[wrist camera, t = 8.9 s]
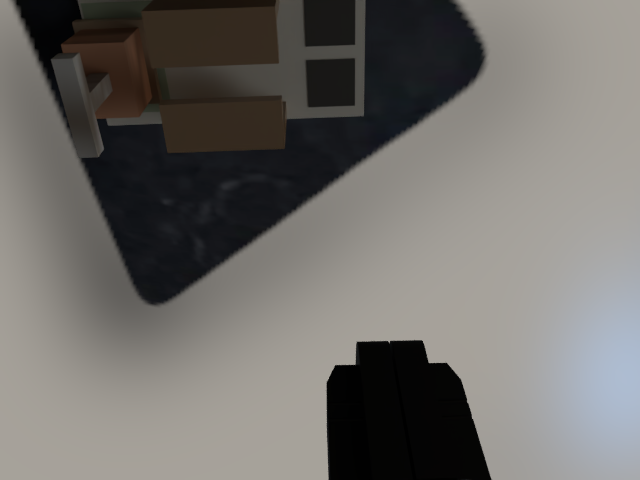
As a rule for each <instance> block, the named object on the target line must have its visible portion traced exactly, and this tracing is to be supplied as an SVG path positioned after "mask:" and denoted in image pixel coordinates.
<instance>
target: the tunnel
mask: <svg viewBox="0 0 640 480" xmlns="http://www.w3.org/2000/svg"><path fill="white" fill-rule="evenodd" d="M78 4H79V8H80V13H81V17H82V19H105V18H133V17H142V19H143V25H144V30H145V35H146V41H147V46H148V51H149V56H150V62H151V67H152V68H157V74H158V79H159V84H160V90H161V95H162V100H161V102H160V104H148V105H147V106H146V108H145V109H144V111H143V113H142V114H141V116H140V117H131V118H106V119H107V123H108V126H110V125H137V124H162V125H163V130H164V136H165V141H166V146H167V152H168V153H181V152H208V151H234V150H260V149H285V136H286V120H287V119H297V118H323V117H350V116H364V58H365V0H78Z"/></svg>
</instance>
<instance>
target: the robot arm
mask: <svg viewBox="0 0 640 480" xmlns="http://www.w3.org/2000/svg"><path fill="white" fill-rule="evenodd" d="M327 442H328V472H329V480H491V477H490V474H489V471H488V467H487V464H486V461H485V457H484V454H483V451H482V447H481V444H480V441H479V438H478V434H477V431H476V428H475V424H474V421H473V419H472V414H471V411H470V408H469V404H468V403H467V398H466V395H465V391H464V388H463V385H462V382H461V379H460V378H459V377H458V376H457V374H456V373H455V372H454V371H453V370H452V369H451V367H450V366H449V365H448V364H447V363H428V358H427V354H426V351H425V346H424V343H423V341H422V340H414V341H390V344H389V342H388V341H371V342H357V344H356V365H335V367H334V369H333V371H332V373H331V375H330V377H329V379H328V381H327Z"/></svg>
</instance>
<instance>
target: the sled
mask: <svg viewBox="0 0 640 480" xmlns="http://www.w3.org/2000/svg"><path fill="white" fill-rule="evenodd" d="M72 25H73V29H74V33H75V34H74V35H73V36H72V37H70V38H69V39H68V40H66V41H65V42H64V43H62V44H61V47H62V51H63V53H58V54H57V55H56V56H54V57H53V58H52V59H51V62H52V65H53V69H54V72H55V76H56V79H57V83H58V86H59V90H60V94H61V97H62V101H63V104H64V108H65V111H66V115H67V118H68V122H69V125H70V129H71V132H72V136H73V140H74V143H75V147H76V150H77V154H78V157H79V158H88V157H99V155H100V154H101V152H102V151H103V150H104V147H103V144H102V140H101V136H100V132H99V128H98V124H97V120H96V119H105V118H131V117H140V116H141V114H142V113H143V111H144V109H145V108H146V106H147V105H148V104H160V102H161V100H162V95H161V90H160V84H159V79H158V74H157V68H152V67H151V62H150V56H149V51H148V46H147V41H146V35H145V30H144V25H143V19H142V17H133V18H105V19H78V20H74V21H73V22H72Z"/></svg>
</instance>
